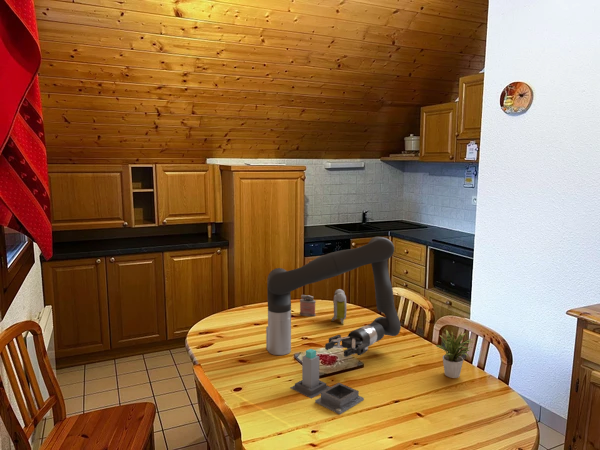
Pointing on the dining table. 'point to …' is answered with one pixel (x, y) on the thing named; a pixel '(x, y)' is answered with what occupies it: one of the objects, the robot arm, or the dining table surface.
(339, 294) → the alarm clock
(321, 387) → the grey square tray
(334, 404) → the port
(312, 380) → the plug
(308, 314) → the lighter
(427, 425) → the dining table surface
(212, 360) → the dining table surface
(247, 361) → the dining table surface
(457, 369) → the house plant
